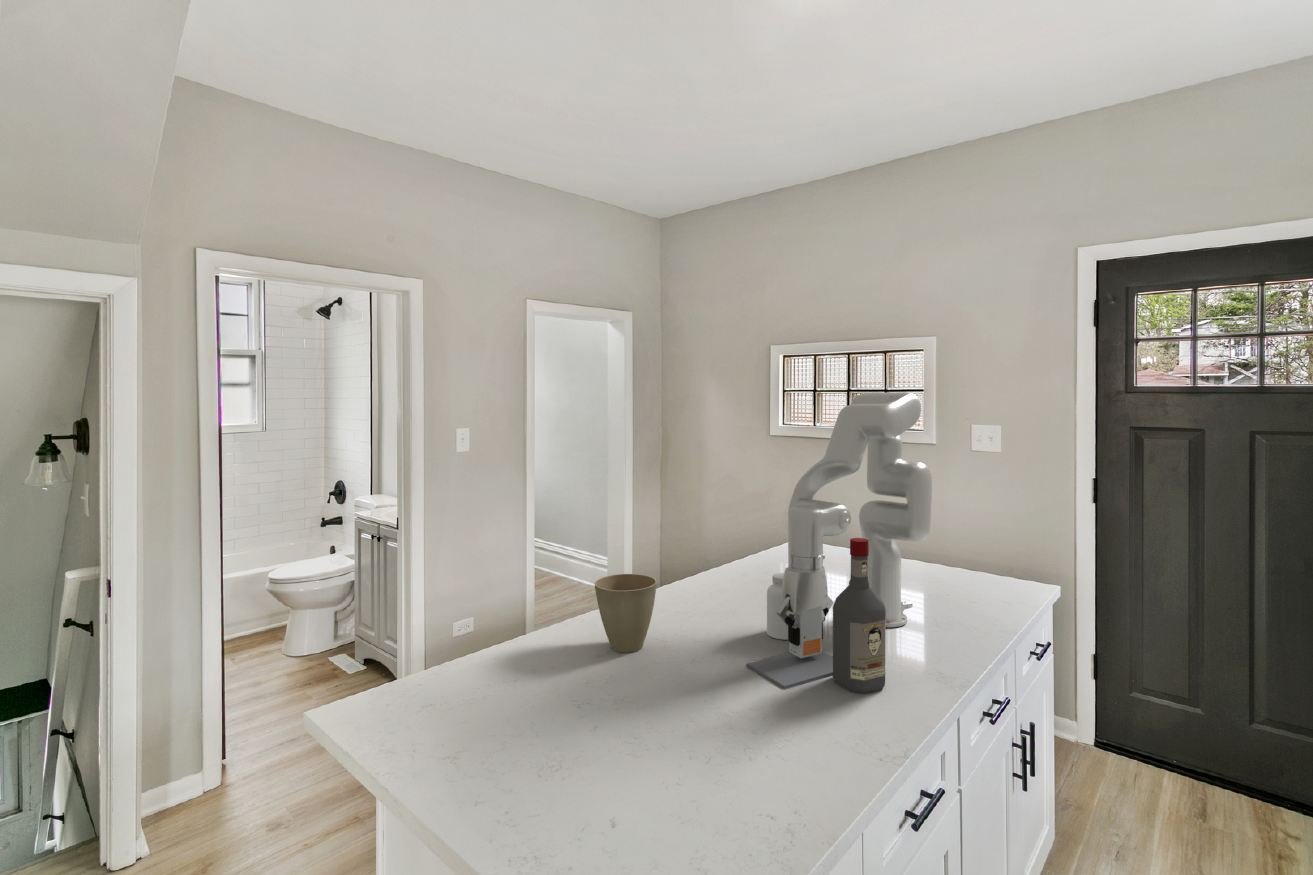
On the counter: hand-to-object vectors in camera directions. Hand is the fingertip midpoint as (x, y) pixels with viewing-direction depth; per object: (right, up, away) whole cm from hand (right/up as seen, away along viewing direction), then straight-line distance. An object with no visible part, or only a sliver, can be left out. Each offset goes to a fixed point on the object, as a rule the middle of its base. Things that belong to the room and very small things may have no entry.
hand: (805, 639), depth 143 cm
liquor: (+8, -6, -11) cm, 15 cm away
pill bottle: (-2, -4, +16) cm, 17 cm away
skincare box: (0, -3, 0) cm, 3 cm away
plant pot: (-41, -5, +10) cm, 42 cm away
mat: (-2, -5, -3) cm, 6 cm away
